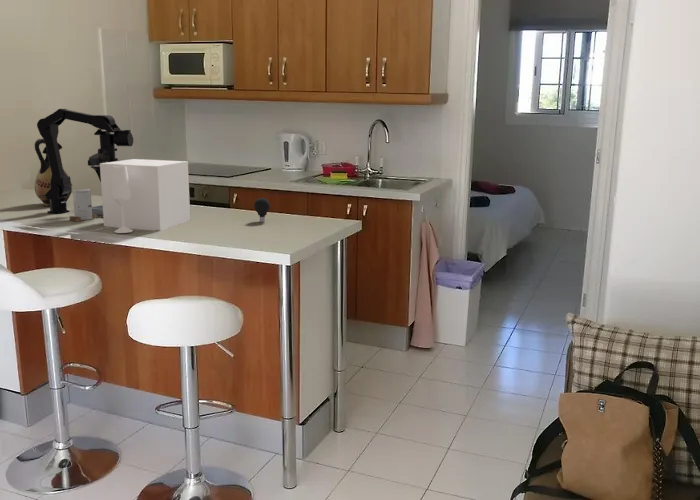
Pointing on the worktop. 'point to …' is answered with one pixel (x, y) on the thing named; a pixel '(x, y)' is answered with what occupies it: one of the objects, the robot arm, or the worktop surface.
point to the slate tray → (98, 210)
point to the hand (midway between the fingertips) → (110, 183)
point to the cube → (148, 194)
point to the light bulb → (262, 208)
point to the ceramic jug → (44, 175)
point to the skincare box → (82, 203)
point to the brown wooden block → (73, 218)
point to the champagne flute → (121, 193)
